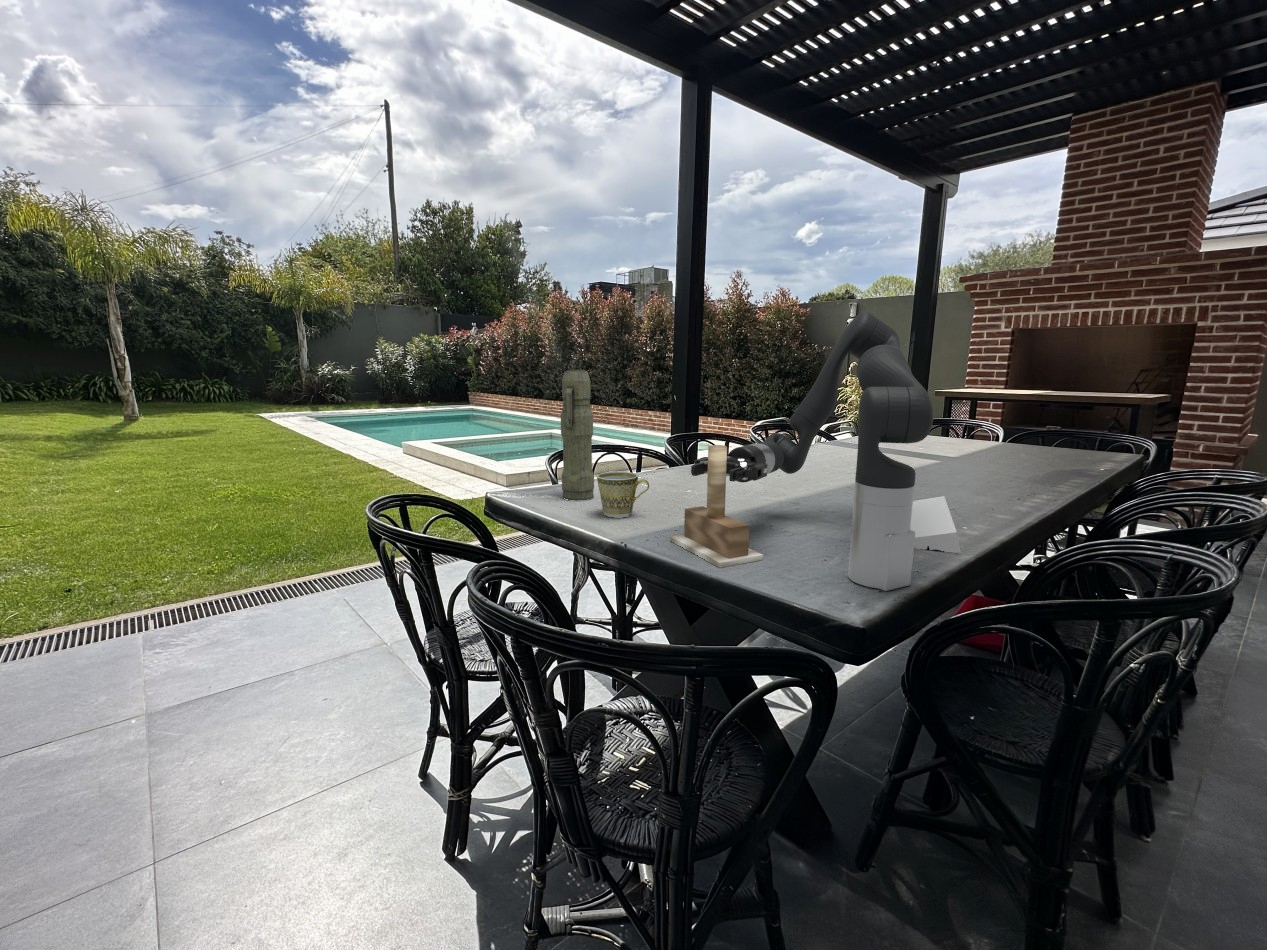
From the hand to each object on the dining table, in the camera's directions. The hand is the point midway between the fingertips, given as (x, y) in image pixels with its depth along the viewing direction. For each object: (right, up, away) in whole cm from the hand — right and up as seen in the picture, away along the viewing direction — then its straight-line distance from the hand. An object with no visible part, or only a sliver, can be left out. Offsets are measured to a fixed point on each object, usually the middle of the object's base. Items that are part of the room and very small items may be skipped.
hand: (711, 473), depth 112 cm
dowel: (+1, -9, +3) cm, 9 cm away
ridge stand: (+1, -15, +5) cm, 16 cm away
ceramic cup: (-18, -11, +30) cm, 37 cm away
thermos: (-31, -7, +49) cm, 58 cm away
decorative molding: (+52, -13, +20) cm, 57 cm away
